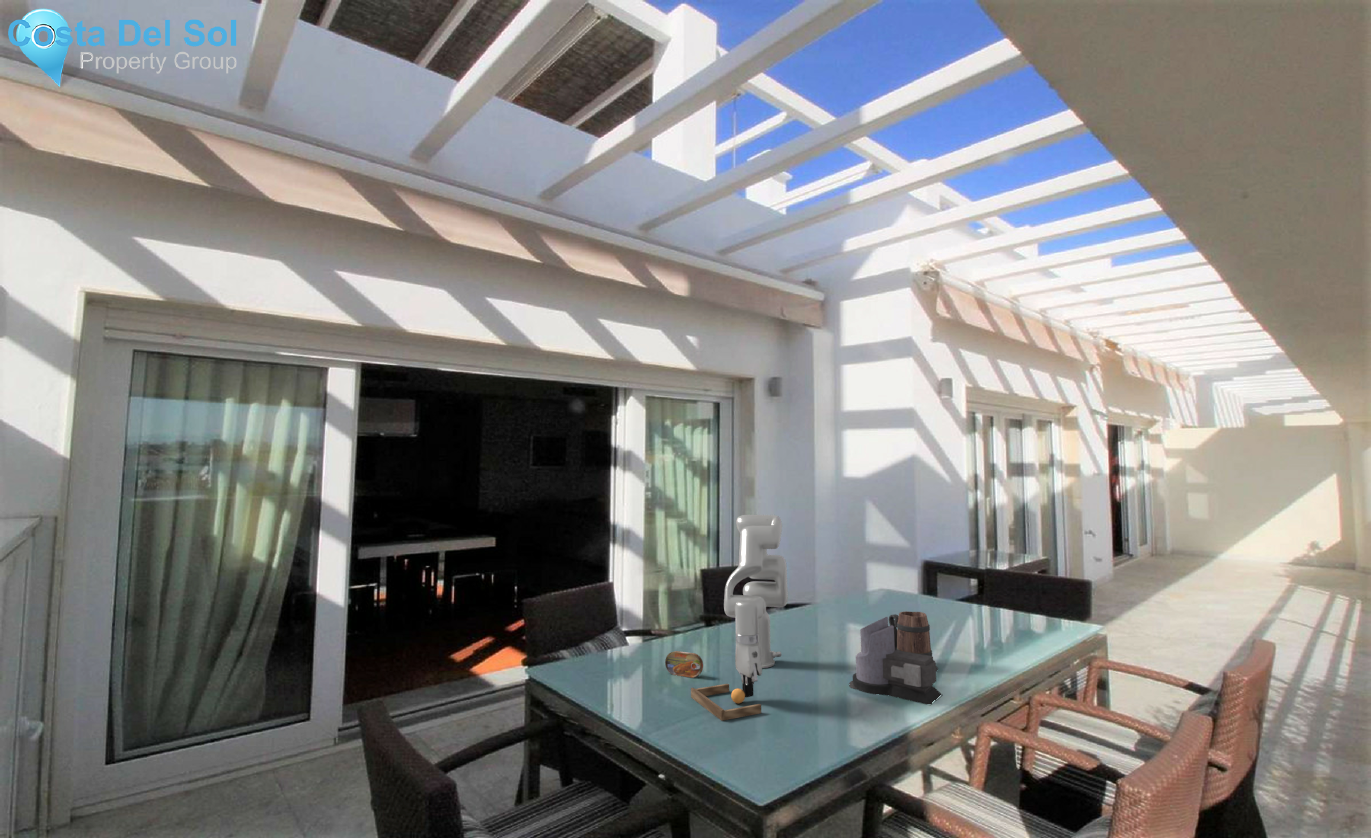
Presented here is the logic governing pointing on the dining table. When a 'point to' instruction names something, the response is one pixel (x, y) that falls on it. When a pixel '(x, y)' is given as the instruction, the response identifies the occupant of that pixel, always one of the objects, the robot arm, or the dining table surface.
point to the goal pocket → (716, 710)
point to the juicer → (892, 667)
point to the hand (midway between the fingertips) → (748, 695)
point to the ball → (738, 695)
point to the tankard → (911, 632)
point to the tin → (684, 664)
